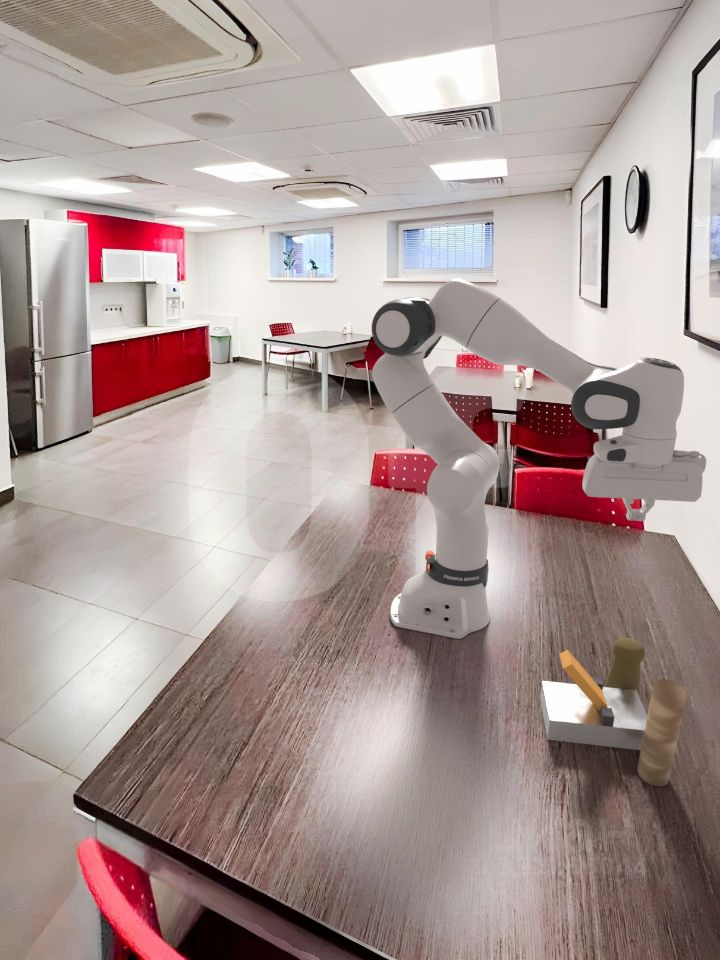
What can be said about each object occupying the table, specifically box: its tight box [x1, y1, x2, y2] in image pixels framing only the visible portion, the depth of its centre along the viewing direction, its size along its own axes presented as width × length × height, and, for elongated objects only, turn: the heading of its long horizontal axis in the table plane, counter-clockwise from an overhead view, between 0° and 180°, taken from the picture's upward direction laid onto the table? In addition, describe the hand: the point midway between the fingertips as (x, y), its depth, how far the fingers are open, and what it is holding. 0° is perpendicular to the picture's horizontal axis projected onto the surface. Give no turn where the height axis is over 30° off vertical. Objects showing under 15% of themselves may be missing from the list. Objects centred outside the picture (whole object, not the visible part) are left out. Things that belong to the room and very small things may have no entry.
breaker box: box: [539, 675, 648, 751], centre depth 99 cm, size 16×10×6 cm, turn 81°
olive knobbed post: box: [604, 637, 646, 698], centre depth 106 cm, size 6×6×11 cm
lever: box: [559, 649, 608, 711], centre depth 98 cm, size 2×4×11 cm
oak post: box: [636, 678, 688, 787], centre depth 87 cm, size 4×4×16 cm
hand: (635, 519), depth 111 cm, fingers closed
